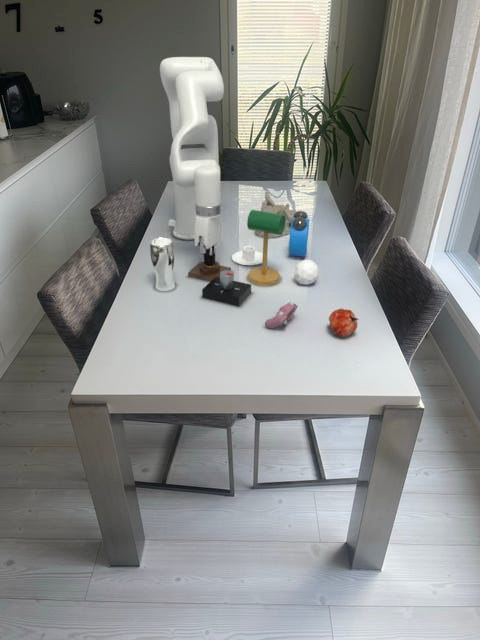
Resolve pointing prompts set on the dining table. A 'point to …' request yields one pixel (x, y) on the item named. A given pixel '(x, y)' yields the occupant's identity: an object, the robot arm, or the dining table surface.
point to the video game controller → (281, 315)
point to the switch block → (207, 271)
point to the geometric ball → (306, 272)
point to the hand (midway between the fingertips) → (209, 264)
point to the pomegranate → (343, 322)
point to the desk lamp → (265, 244)
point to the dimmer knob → (226, 280)
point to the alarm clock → (299, 234)
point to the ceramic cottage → (278, 209)
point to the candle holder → (248, 256)
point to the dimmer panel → (226, 292)
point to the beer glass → (163, 262)
